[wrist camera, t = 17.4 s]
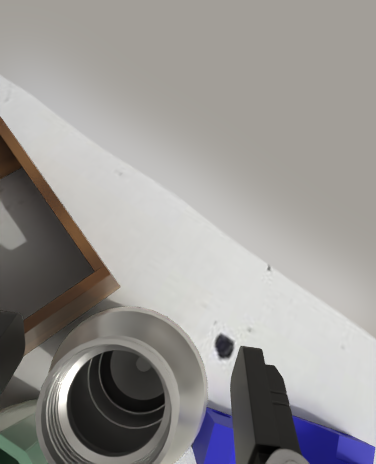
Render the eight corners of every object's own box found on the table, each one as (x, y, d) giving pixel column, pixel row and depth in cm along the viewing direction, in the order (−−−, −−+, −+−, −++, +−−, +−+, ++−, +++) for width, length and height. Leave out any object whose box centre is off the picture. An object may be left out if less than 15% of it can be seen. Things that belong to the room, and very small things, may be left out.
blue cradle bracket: (353, 436, 27) (403, 460, 22) (343, 501, 26) (394, 545, 20) (209, 386, 28) (221, 397, 22) (192, 447, 26) (200, 476, 21)
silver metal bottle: (140, 305, 29) (99, 237, 10) (201, 360, 28) (282, 396, 9) (85, 368, 27) (-88, 426, 8) (148, 428, 26) (115, 646, 8)
